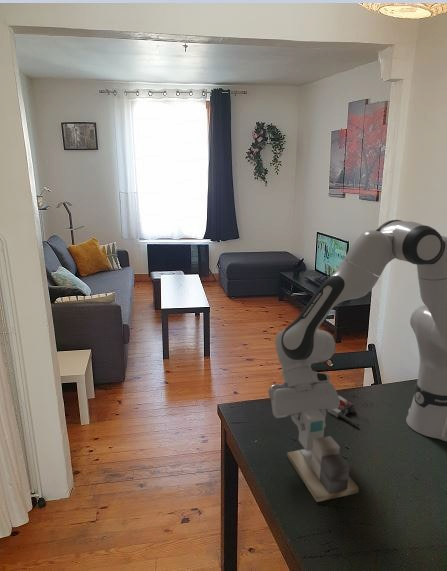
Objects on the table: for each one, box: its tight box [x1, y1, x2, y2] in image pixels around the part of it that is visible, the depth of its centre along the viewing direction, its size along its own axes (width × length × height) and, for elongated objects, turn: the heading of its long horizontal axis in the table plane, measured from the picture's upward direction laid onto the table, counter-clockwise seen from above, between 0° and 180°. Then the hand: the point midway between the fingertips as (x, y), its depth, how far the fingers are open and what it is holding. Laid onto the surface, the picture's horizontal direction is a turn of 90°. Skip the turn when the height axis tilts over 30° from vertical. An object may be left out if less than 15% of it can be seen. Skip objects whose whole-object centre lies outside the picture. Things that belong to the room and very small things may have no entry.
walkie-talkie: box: [327, 395, 360, 427], centre depth 146 cm, size 9×4×20 cm
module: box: [298, 409, 326, 451], centre depth 119 cm, size 5×5×10 cm
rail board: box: [286, 435, 360, 503], centre depth 114 cm, size 12×18×11 cm, turn 16°
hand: (312, 429), depth 118 cm, fingers closed on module, 5 cm apart
